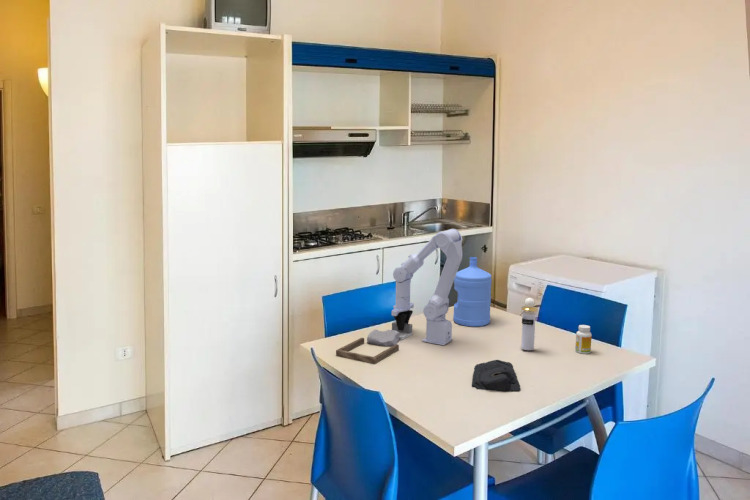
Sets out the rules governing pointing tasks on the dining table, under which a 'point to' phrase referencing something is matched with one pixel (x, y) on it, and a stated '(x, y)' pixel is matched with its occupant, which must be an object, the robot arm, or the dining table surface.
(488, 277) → the water jug
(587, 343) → the supplement bottle
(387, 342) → the stone block
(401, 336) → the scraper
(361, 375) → the dining table surface
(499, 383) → the crumpled black cloth
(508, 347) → the dining table surface
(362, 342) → the dock
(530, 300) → the perfume bottle
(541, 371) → the dining table surface
